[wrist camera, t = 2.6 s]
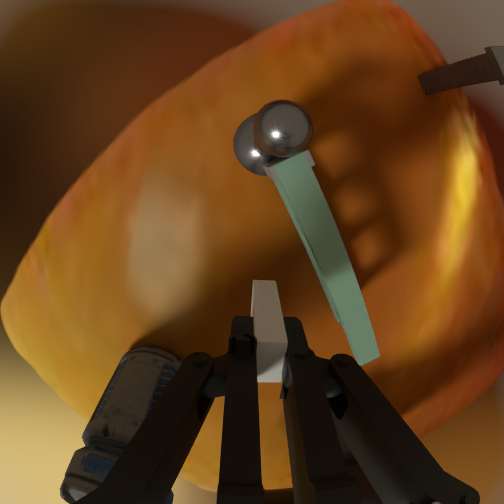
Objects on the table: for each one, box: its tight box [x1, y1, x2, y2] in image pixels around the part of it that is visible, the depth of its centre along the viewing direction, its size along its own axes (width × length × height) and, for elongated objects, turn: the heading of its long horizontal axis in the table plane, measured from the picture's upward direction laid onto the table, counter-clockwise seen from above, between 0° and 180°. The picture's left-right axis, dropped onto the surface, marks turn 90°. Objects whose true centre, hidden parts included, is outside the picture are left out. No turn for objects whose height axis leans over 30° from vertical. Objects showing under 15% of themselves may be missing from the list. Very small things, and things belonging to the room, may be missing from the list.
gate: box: [262, 150, 380, 366], centre depth 22 cm, size 17×3×9 cm, turn 27°
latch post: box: [418, 46, 504, 95], centre depth 15 cm, size 3×3×13 cm
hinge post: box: [234, 100, 313, 176], centre depth 17 cm, size 6×6×15 cm
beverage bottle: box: [60, 347, 183, 504], centre depth 21 cm, size 10×13×25 cm
